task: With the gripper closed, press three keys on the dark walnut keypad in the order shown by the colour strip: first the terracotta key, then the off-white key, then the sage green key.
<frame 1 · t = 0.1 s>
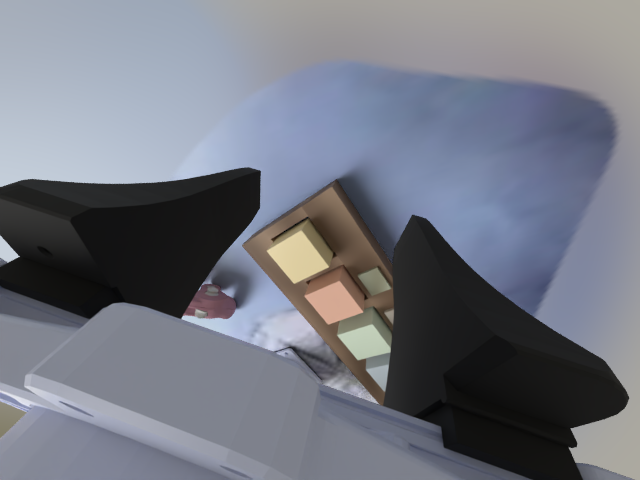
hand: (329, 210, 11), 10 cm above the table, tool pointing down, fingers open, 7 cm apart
ochre key: (301, 250, 21), point 3 cm above the table, slide at 0.0 cm
video game controller: (206, 284, 31), on the table
bluegrey key: (391, 365, 26), point 3 cm above the table, slide at 0.0 cm
terracotta key: (335, 294, 23), point 3 cm above the table, slide at 0.0 cm
sage key: (365, 332, 24), point 3 cm above the table, slide at 0.0 cm
keypad: (366, 310, 27), on the table
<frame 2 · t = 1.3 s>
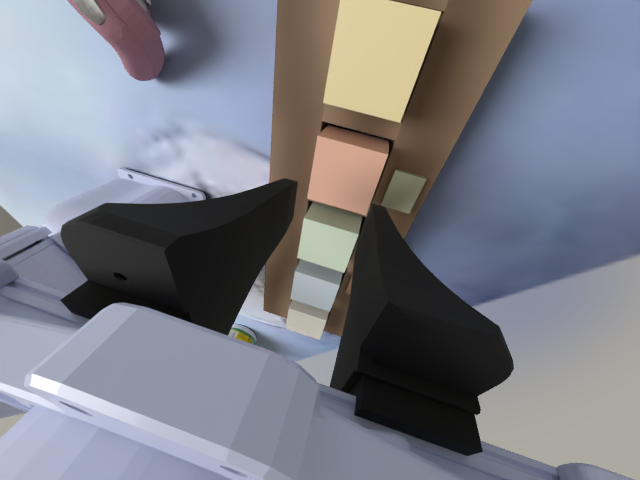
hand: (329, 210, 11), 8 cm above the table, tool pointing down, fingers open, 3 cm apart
ochre key: (375, 63, 11), point 3 cm above the table, slide at 0.0 cm
offwhite key: (308, 313, 26), point 3 cm above the table, slide at 0.0 cm
supplement bottle: (243, 331, 39), on the table
bluegrey key: (317, 281, 22), point 3 cm above the table, slide at 0.0 cm
terracotta key: (347, 170, 15), point 3 cm above the table, slide at 0.0 cm
sage key: (329, 236, 19), point 3 cm above the table, slide at 0.0 cm
keypad: (336, 216, 21), on the table
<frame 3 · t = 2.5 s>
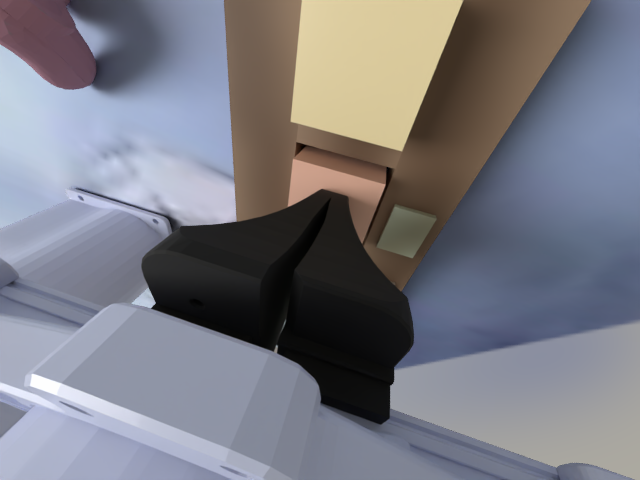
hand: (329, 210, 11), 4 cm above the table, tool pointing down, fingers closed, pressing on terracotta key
ochre key: (366, 64, 8), point 3 cm above the table, slide at 0.0 cm
offwhite key: (294, 355, 22), point 3 cm above the table, slide at 0.0 cm
bluegrey key: (301, 324, 18), point 3 cm above the table, slide at 0.0 cm
terracotta key: (334, 198, 12), point 2 cm above the table, slide at 0.8 cm, touching gripper
keypad: (323, 249, 17), on the table
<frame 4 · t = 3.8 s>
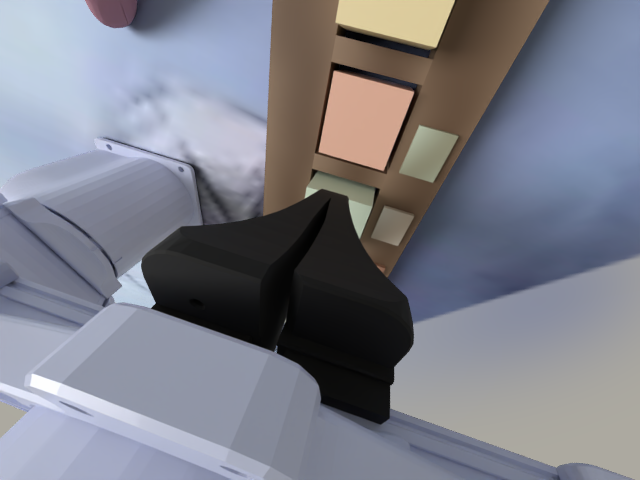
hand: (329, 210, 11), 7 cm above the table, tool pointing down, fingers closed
terracotta key: (363, 120, 14), point 2 cm above the table, slide at 1.6 cm
sage key: (335, 212, 16), point 3 cm above the table, slide at 0.0 cm
keypad: (343, 193, 18), on the table
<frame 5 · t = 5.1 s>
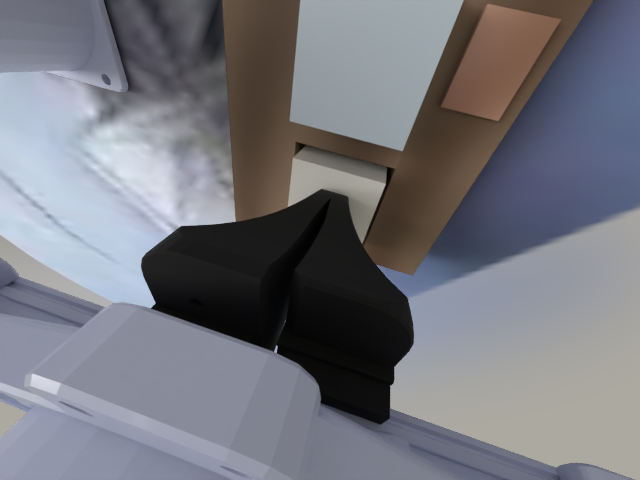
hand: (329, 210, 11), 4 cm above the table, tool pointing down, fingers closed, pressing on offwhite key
offwhite key: (334, 197, 12), point 2 cm above the table, slide at 0.9 cm, touching gripper
bluegrey key: (366, 63, 8), point 3 cm above the table, slide at 0.0 cm
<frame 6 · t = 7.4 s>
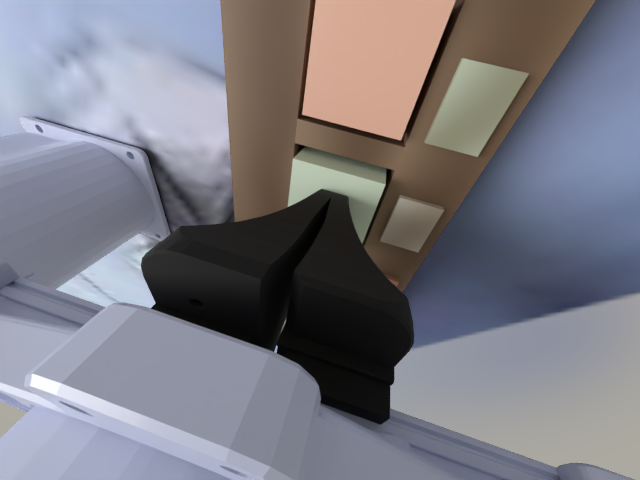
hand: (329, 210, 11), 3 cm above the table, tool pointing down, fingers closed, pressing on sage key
offwhite key: (306, 310, 20), point 2 cm above the table, slide at 1.6 cm
terracotta key: (369, 63, 9), point 2 cm above the table, slide at 1.6 cm
sage key: (334, 197, 12), point 2 cm above the table, slide at 1.0 cm, touching gripper
keypad: (341, 181, 14), on the table
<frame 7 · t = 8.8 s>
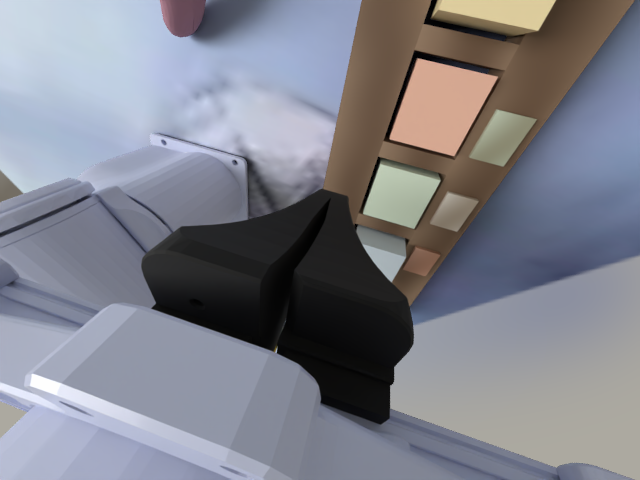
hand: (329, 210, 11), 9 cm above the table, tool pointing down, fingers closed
bluegrey key: (372, 256, 20), point 3 cm above the table, slide at 0.0 cm
terracotta key: (434, 107, 14), point 2 cm above the table, slide at 1.6 cm
sage key: (398, 190, 18), point 2 cm above the table, slide at 1.6 cm
keypad: (397, 182, 19), on the table
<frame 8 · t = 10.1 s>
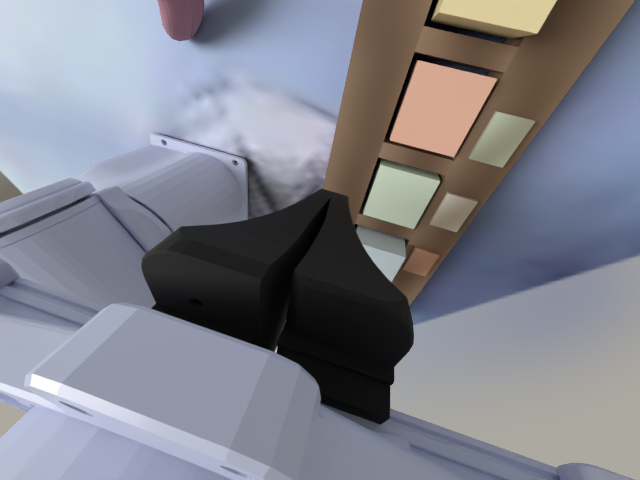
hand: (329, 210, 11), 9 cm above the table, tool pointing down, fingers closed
bluegrey key: (372, 256, 20), point 3 cm above the table, slide at 0.0 cm
terracotta key: (434, 109, 14), point 2 cm above the table, slide at 1.6 cm
sage key: (398, 190, 18), point 2 cm above the table, slide at 1.6 cm
keypad: (397, 182, 19), on the table
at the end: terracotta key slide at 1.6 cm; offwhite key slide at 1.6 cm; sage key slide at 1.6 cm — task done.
